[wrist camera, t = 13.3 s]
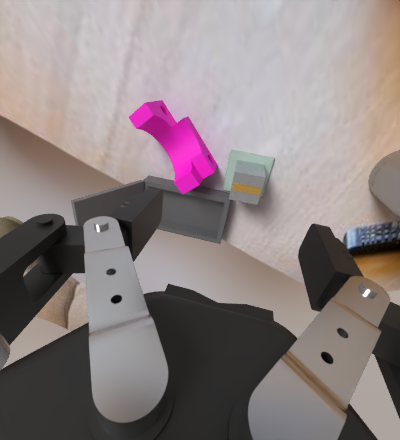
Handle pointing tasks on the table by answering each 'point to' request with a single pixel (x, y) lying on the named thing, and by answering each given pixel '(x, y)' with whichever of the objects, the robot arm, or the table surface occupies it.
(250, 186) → the block
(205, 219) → the case
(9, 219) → the planter bowl
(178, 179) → the toy block
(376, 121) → the table surface
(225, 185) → the mat
